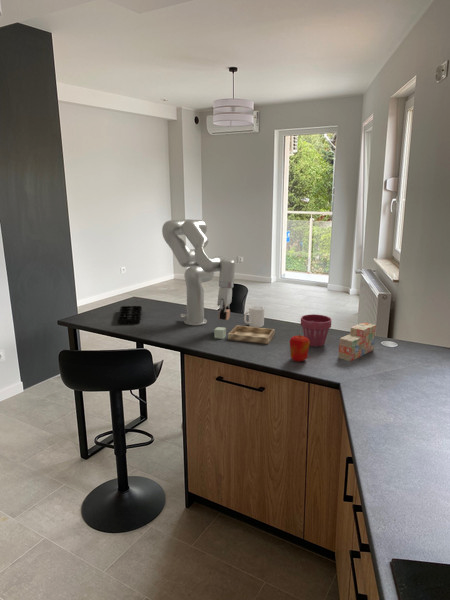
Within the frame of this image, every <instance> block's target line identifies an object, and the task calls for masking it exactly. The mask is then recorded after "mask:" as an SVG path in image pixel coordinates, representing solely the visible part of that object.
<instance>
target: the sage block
mask: <svg viewBox="0 0 450 600" xmlns="http://www.w3.org/2000/svg"><path fill="white" fill-rule="evenodd" d="M213 332H214V333H213V334H214V339H221V340H222V339H224V338H226V336H227V328H226V327H220V326H217V327H215V328H214V330H213Z"/></svg>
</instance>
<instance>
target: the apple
mask: <svg viewBox="0 0 450 600" xmlns="http://www.w3.org/2000/svg"><path fill="white" fill-rule="evenodd" d="M309 344H310V341H309V339H308V338H307V337H304V335H301V334H300V333H299V335H294V336H291V338H290V339H289V347H290V349H289V350H290V358H291V359H292V360H293V361H294V362H304V361H305V360H307V359H308V357H309V356H308V355H309V348H310V346H309Z"/></svg>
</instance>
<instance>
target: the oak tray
mask: <svg viewBox="0 0 450 600" xmlns="http://www.w3.org/2000/svg"><path fill="white" fill-rule="evenodd" d="M275 331H276V330H275V329H274V328H265V327H259V328H257V327H250V326H249V325H248V326H247V325H236V326H234V327H233V328H232V329H231V330H230V332H228V333H227V340H229V341H238V342H246V343H255V344H262V345H268V344H270V342H271V341H272V339H273V337H274V336H275Z"/></svg>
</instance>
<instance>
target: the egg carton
mask: <svg viewBox="0 0 450 600" xmlns="http://www.w3.org/2000/svg"><path fill="white" fill-rule="evenodd" d="M142 309H143V307H142V306H141V305H122V306H120V308H119V312H118V315H117V320H116V321H117V324H118V325H119V326H121V325H123V326H124V325H128V324H130V325H138V324H140V323H141V320H142Z"/></svg>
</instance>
